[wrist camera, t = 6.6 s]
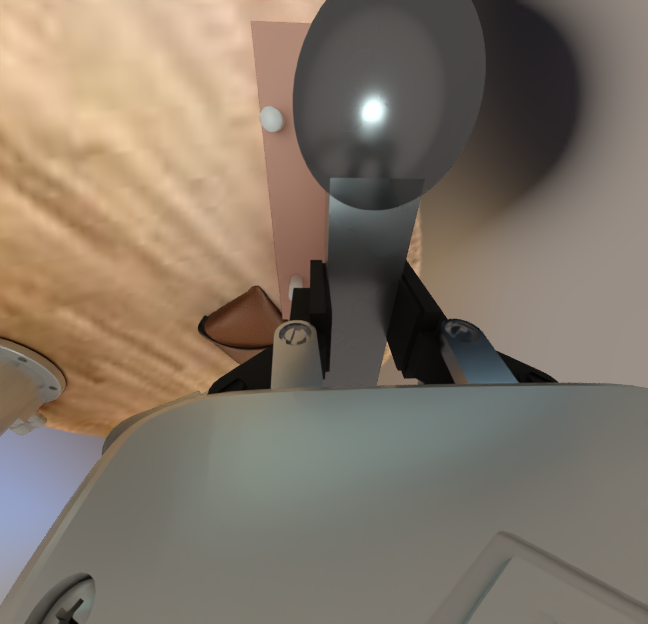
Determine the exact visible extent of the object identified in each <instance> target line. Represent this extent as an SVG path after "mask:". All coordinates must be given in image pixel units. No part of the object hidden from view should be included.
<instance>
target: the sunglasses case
mask: <svg viewBox="0 0 648 624" xmlns="http://www.w3.org/2000/svg"><path fill="white" fill-rule="evenodd" d="M285 322H288V320H287V319H282V314H281V313H280V312H279V311H278V309H277V308H276V307H275V305H274V304H273V303H272V302H271V301H270V300H269V298H268V297H267V295H266V294H265V292H264V291H263V290H262V289H261V288H260V287H259V286H253V287H251V289H249V291H248V292H246V293H244V294H243V295H241V296H239V297H238V298H236V299H234V300H233V301H231V302H229V303H228V304H226V305H225V306H223V307H221V308H220V309H218V310H217V311H215V312H213V313H212V314H210V315H209V316H208V317H207V316H206V315H205V316H204V317H203V319H202V320H201V322H200V323H199V325H198V331H199V333H200V334H201V335H202V336H203V337H205V338H206V339H208V340H210V341H211V342H213V343H214V344H215V345H216V346H218V347H219V348H220V349H221V350H222V351H224V352H225V353H226V354H227V355H229V356H230V357H231V358H232V359H234V360H235V361H236V362H238V363H239V364H240V365H241V364H243V363H244V362H246V361H247V360H249V359H251V358H252V357H254V356H255V355H257V354H258V353H260V352H261V351H263V350H265V349H266V348H268V347H269V346H271V345H272V344H274V334H275V330H276V329H277V328H278V327H279V326H280V325H281V324H283V323H285Z"/></svg>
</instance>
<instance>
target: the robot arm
mask: <svg viewBox="0 0 648 624" xmlns="http://www.w3.org/2000/svg"><path fill="white" fill-rule="evenodd" d="M331 333H332V305H331V296H330V287H329V281H327V273H326V263H322V260H310V288H293V294H292V303H291V312H290V320H289V321H288V322H285V323H283V324H281V325H280V326H279V327H278V328H277V329H276V330H275V334H274V344H272V345H271V346H269V347H268V348H266V349H265V350H263V351H261V352H260V353H258V354H257V355H255V356H254V357H252V358H251V359H249V360H247V361H246V362H244V363H243V364H241V365H240V366H238V367H236V368H235V369H233V370H232V371H230V372H229V373H227V374H225V375H224V376H222V377H221V378H219V379H218V380H217V381H216V382H214V384H213V385H212V386H211V387H210V389H209V391H207V392H204V393H202V394H200V392H199V391H197V392H194V393H192V394H189V395H187V396H184V397H181V398H179V399H176V400H174V401H171V402H168V403H166V404H163V405H160V406H158V407H155V408H153V409H150V410H147V411H145V412H142V413H140V414H137V415H134V416H132V417H130V418H128V419H126V420H124V421H122V422H121V423H120V424H118V425H117V426H116V427H115V428H114V429H113V430H112V431H111V432H110V433H109V435H108V436H107V437H106V440H105V442H104V445H103V449H102V456H101V458H100V459H99V460H98V461H97V463H96V464H95V466H94V467H93V468H92V469H91V471H90V472H89V473H88V475H87V476H86V477H85V479H84V480H83V482H82V483H81V485H80V486H79V487H78V488H77V490H76V491H75V493H74V494H73V496H72V497H71V498H70V500H69V501H68V503H67V504H66V506H65V507H64V509H63V510H62V512H61V513H60V515H59V516H58V518H57V519H56V521H55V522H54V524H53V525H52V527H51V528H50V530H49V531H48V533H47V534H46V536H45V537H44V539H43V540H42V542H41V543H40V545H39V546H38V548H37V549H36V551H35V552H34V554H33V555H32V557H31V559H30V560H29V561H28V563H27V565H26V566H25V568H24V569H23V571H22V572H21V574H20V575H19V577H18V578H17V580H16V582H15V583H14V585H13V586H12V588H11V590H10V591H9V593H8V594H7V596H6V598H5V599H4V601H3V602H2V604H1V606H0V624H648V388H645V387H638V386H633V385H622V384H609V383H559V382H558V381H556V380H555V379H554V378H552V377H551V376H549V375H548V374H546V373H544V372H542V371H540V370H538V369H535V368H533V367H531V366H529V365H527V364H524V363H522V362H520V361H518V360H516V359H513V358H511V357H509V356H507V355H505V354H503V353H500V352H498V351H496V350H495V349H494V347H493V346H492V345H491V343H490V342H489V340H488V339H487V337H486V336H485V335H484V333H483V332H482V331H481V330H480V329H479V328H478V327H477V326H475V325H474V324H472V323H470V322H467V321H464V320H461V319H447V318H446V316H445V315H444V314H443V312H442V310H441V309H440V307H439V306H438V305H437V303H436V302H435V300H434V299H433V298H432V296H431V295H430V293H429V292H428V290H427V289H426V287H425V286H424V285H423V283H422V282H421V280H420V279H419V277H418V276H417V275H416V273H415V272H414V270H413V269H412V267H411V266H410V265H409V263H408V262H407V260H406V262H405V266H404V270H403V275H402V279H401V280H400V281H399V285H398V289H397V294H396V298H395V302H394V307H393V311H392V315H391V319H390V324H389V328H388V332H387V337H386V339H387V342H388V345H389V347H390V350H391V353H392V356H393V359H394V362H395V365H396V368H397V370H401V371H402V374H403V377H404V378H416V379H418V385H386V386H385V385H383V386H345V387H324V382H323V380H324V379H325V373H326V372H330V353H331ZM65 386H66V382H65V379H64V376H63V375H62V373H61V372H60V371H59V370H58V369H57V367H56V366H55V365H53V364H52V363H51V362H50V361H48V360H47V359H46V358H44V357H42V356H41V355H39V354H38V353H36V352H34V351H32V350H30V349H28V348H26V347H24V346H21V345H19V344H16V343H14V342H11V341H7V340H4V339H1V338H0V436H1V435H2V434H3V433H4V432H5V431H6V430H7V429H8V428H10V429H11V430H12V431H14V432H16V433H17V434H18V435H24V434H27V433H29V432H31V431H32V430H33V429H34V428H38V427H41V426H43V425H44V424H45V423H46V422H47V419H46V418H45V417H44V416H43V415H42V414H39V413H38V412H37V411H38V409H39V408H40V406H41V405H42V404H43V403H47V402H51V401H53V400H55V399H56V398H57V397H58V396H59V395H60V394H61V393H62V392H63V391H64V389H65Z"/></svg>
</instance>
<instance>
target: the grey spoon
mask: <svg viewBox="0 0 648 624" xmlns="http://www.w3.org/2000/svg"><path fill="white" fill-rule="evenodd" d="M485 69H486V59H485V44H484V38H483V32H482V28H481V24H480V21H479V18H478V14H477V12H476V10H475V7H474V5H473V3H472V1H471V0H326V1H325V3H324V4H323V5H322V7H321V8H320V10H319V12H318V13H317V15H316V17H315V18H314V20H313V22H312V23H311V26H310V28H309V30H308V33H307V35H306V37H305V39H304V42H303V45H302V48H301V51H300V54H299V58H298V62H297V67H296V71H295V76H294V86H293V119H294V128H295V133H296V138H297V142H298V145H299V148H300V151H301V154H302V156H303V159H304V161H305V163H306V165H307V167H308V169H309V170H310V172H311V174H312V175H313V177H314V178H315V179H316V181H317V182H318V183H319V185H320V186H321V187H322V188H323V189H324V190H325V230H324V263H326V273H327V281H329V287H330V296H331V305H332V333H331V353H330V372H326V373H325V379H324V380H323V382H324V387H345V386H376V385H377V381H378V377H379V372H380V368H381V364H382V360H383V355H384V351H385V347H386V343H387V339H386V337H387V332H388V328H389V324H390V319H391V315H392V311H393V307H394V302H395V298H396V294H397V289H398V285H399V281H400V280H401V279H402V275H403V270H404V266H405V262H406V258H407V253H408V249H409V245H410V241H411V236H412V232H413V228H414V224H415V219H416V215H417V211H418V207H419V202H420V198H421V195H422V194H424V193H425V192H427V191H428V190H429V189H431V188H432V187H433V186H434V185H435V184H436V183H437V182H438V181H439V180H440V179H441V178H442V177H443V176H444V175H445V174H446V173H447V172H448V170H449V169H450V168H451V167H452V165H453V164H454V162H455V161H456V160H457V158H458V157H459V155H460V153H461V152H462V150H463V148H464V147H465V145H466V143H467V141H468V138H469V136H470V134H471V132H472V130H473V127H474V124H475V122H476V119H477V116H478V112H479V109H480V105H481V101H482V96H483V90H484V83H485Z"/></svg>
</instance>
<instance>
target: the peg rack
mask: <svg viewBox="0 0 648 624" xmlns="http://www.w3.org/2000/svg"><path fill="white" fill-rule="evenodd" d="M310 26H311V24H310V23H287V22H265V21H251V29H252V38H253V48H254V57H255V67H256V76H257V85H258V95H259V104H260V113H261V114H260V121H261V124H262V132H263V141H264V151H265V160H266V169H267V179H268V188H269V197H270V207H271V216H272V225H273V235H274V244H275V253H276V263H277V272H278V282H279V291H280V300H281V310H282V319H290V312H291V303H292V294H293V288H310V260H322V263H324V230H325V190H324V189H323V188H322V187H321V186H320V185H319V183H318V182H317V181H316V179H315V178H314V177H313V175H312V174H311V172H310V170H309V169H308V167H307V165H306V163H305V161H304V159H303V156H302V154H301V151H300V148H299V145H298V142H297V138H296V133H295V128H294V119H293V86H294V76H295V71H296V67H297V62H298V58H299V54H300V51H301V48H302V45H303V42H304V39H305V37H306V35H307V33H308V30H309V28H310Z"/></svg>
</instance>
